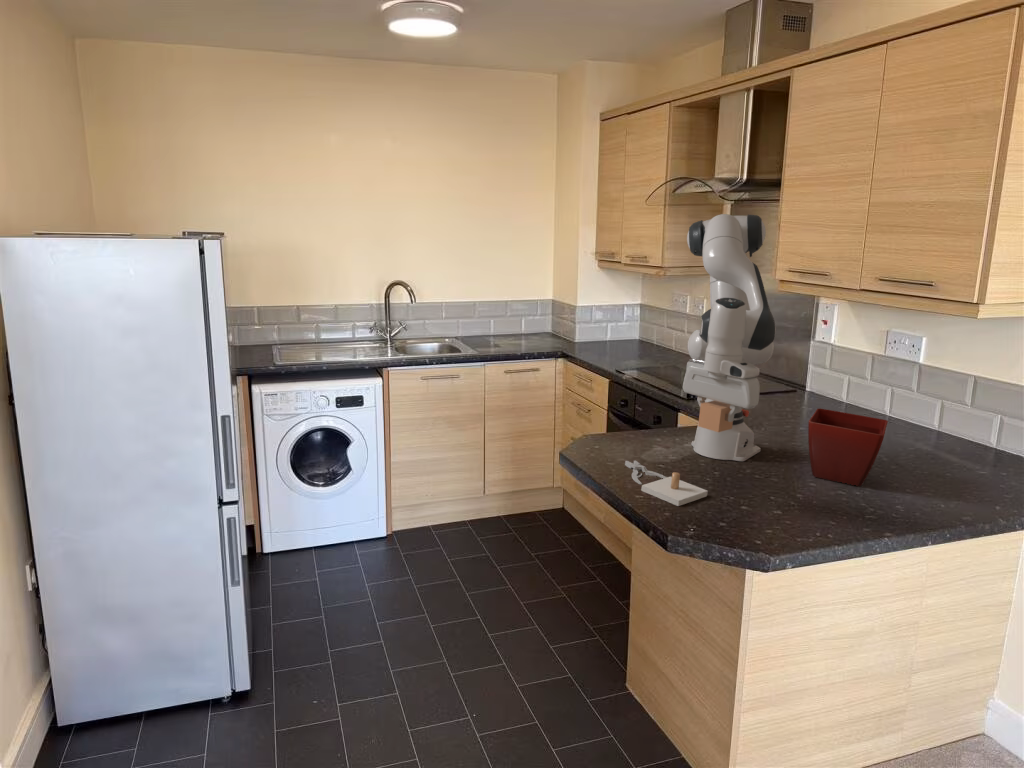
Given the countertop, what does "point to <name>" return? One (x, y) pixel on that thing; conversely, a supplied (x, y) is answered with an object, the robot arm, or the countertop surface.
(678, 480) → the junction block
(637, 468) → the pliers
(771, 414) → the countertop surface
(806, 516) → the countertop surface
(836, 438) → the plant pot
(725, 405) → the tan cardboard cube
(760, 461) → the countertop surface
